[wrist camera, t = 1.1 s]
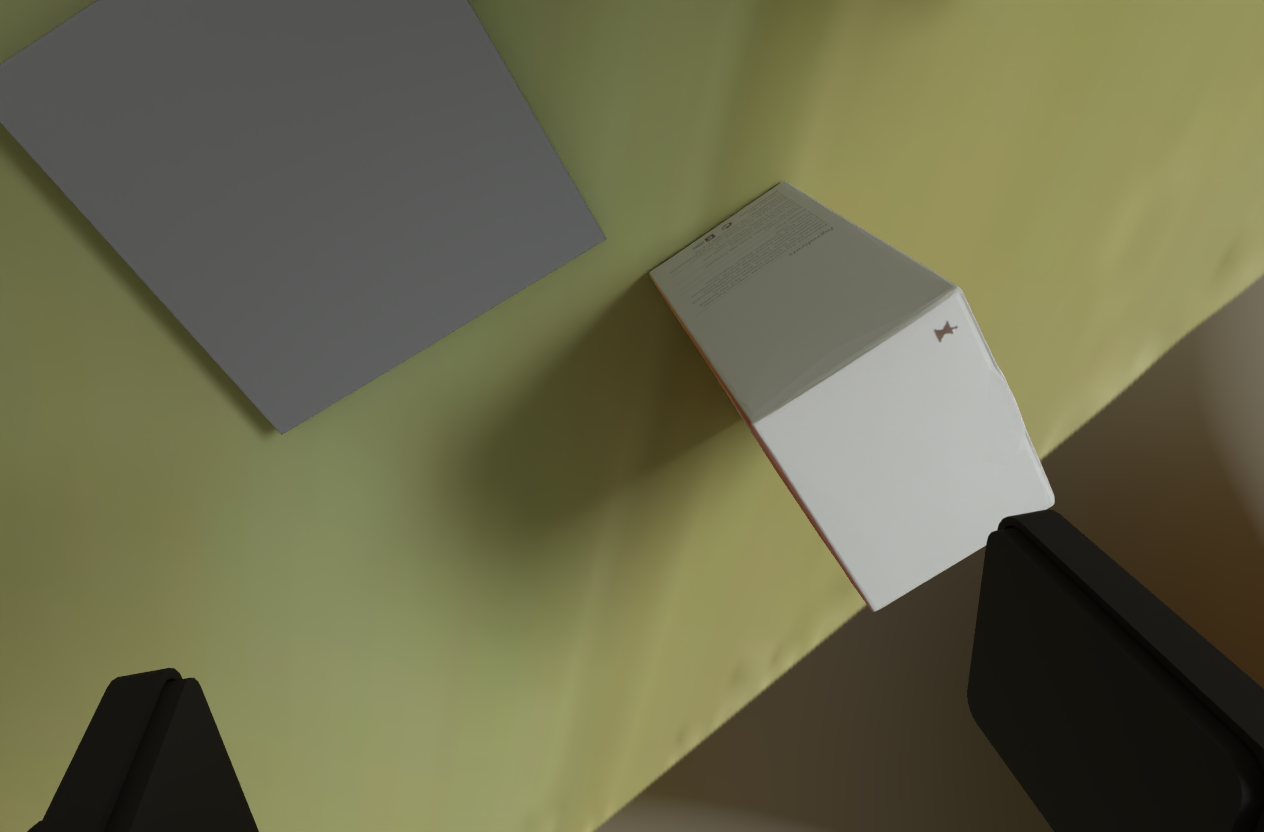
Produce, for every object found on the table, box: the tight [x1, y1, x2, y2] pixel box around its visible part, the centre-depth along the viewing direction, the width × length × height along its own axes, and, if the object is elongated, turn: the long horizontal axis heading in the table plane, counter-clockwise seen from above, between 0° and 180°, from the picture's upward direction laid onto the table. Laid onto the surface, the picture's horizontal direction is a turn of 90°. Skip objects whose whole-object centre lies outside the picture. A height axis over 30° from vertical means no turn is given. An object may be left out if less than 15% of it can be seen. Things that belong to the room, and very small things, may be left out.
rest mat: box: [0, 0, 606, 435], centre depth 29 cm, size 14×14×1 cm
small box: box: [649, 181, 1054, 611], centre depth 29 cm, size 8×6×13 cm
